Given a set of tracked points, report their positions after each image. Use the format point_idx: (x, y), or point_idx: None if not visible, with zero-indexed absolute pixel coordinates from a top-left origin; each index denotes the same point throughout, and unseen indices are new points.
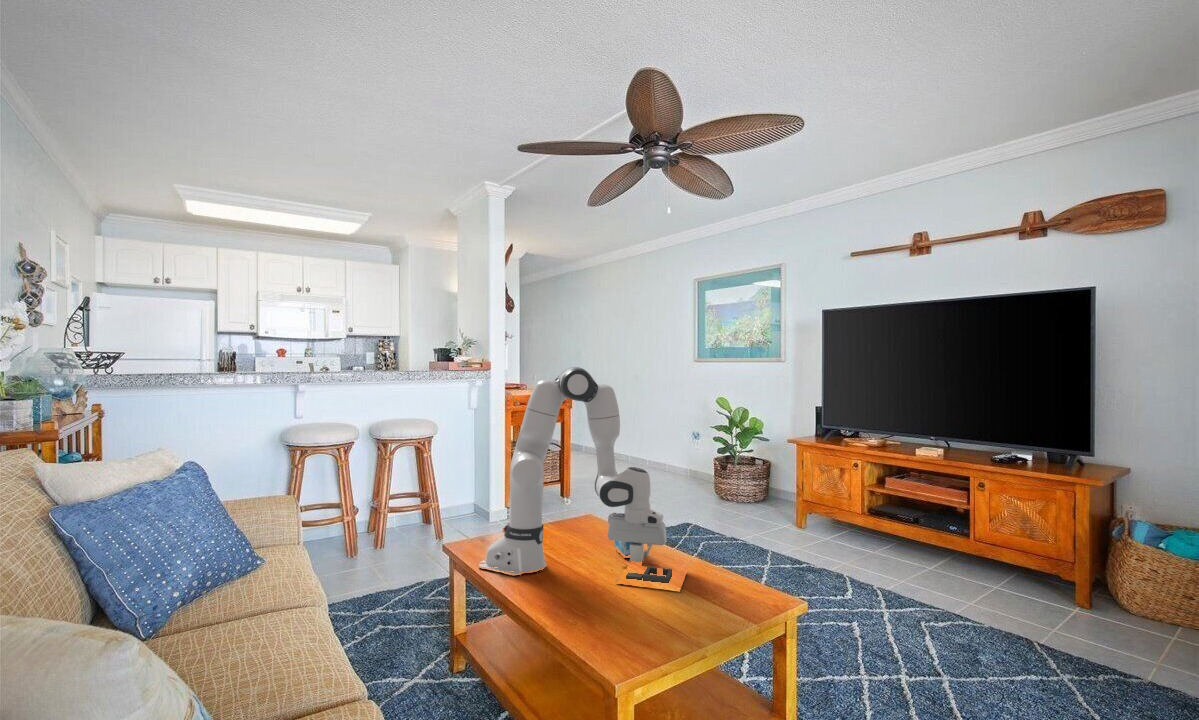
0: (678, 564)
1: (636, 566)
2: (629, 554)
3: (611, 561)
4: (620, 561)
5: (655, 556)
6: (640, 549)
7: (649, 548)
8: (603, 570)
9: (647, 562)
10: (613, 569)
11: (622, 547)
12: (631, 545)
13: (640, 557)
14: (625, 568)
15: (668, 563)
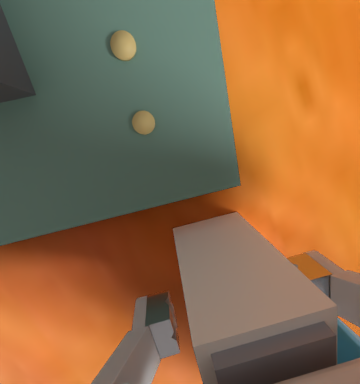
0: (23, 361)
1: (197, 221)
2: None
3: (343, 214)
4: (300, 239)
5: (175, 379)
6: (194, 309)
7: (110, 370)
8: (349, 49)
9: (172, 301)
10: (298, 102)
11: (356, 338)
12: (315, 310)
13: (182, 259)
14: (240, 159)
15: (74, 345)
